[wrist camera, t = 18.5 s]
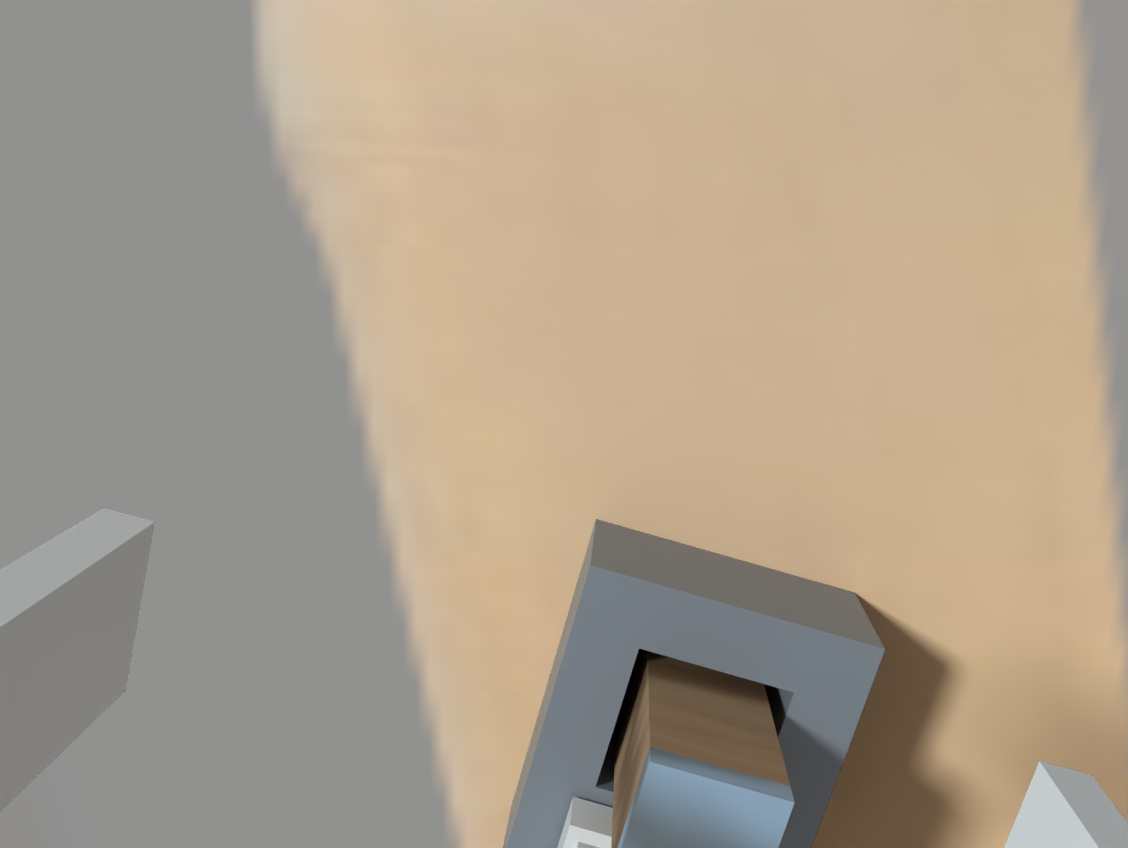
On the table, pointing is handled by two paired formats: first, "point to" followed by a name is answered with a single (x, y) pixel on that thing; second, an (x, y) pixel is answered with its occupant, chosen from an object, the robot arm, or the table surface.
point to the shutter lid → (587, 825)
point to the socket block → (706, 638)
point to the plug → (696, 761)
